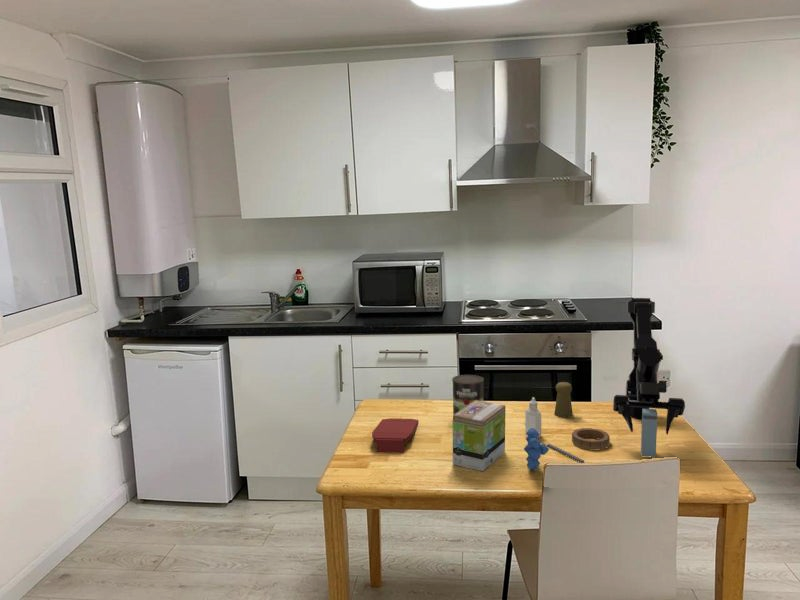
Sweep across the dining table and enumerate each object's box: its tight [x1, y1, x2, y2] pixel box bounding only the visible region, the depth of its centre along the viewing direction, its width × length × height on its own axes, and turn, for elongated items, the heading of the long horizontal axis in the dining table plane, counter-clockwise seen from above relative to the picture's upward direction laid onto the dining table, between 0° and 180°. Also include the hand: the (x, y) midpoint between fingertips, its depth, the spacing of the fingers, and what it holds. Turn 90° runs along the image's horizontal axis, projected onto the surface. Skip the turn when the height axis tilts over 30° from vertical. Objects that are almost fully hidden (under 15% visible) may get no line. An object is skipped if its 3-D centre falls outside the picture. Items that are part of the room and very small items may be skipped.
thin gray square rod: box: [546, 443, 585, 463], centre depth 178 cm, size 1×14×1 cm, turn 28°
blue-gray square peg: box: [640, 408, 658, 458], centre depth 175 cm, size 4×4×13 cm
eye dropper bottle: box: [524, 396, 542, 438], centre depth 192 cm, size 4×6×12 cm
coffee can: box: [451, 374, 485, 416], centre depth 207 cm, size 10×10×14 cm
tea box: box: [452, 400, 506, 472], centre depth 176 cm, size 15×10×15 cm, turn 148°
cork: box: [554, 381, 574, 419], centre depth 208 cm, size 6×6×11 cm
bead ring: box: [571, 427, 611, 450], centre depth 185 cm, size 10×10×2 cm
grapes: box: [523, 428, 550, 471], centre depth 168 cm, size 12×7×12 cm, turn 172°
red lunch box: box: [371, 417, 419, 454], centre depth 196 cm, size 12×5×25 cm
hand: (649, 432), depth 173 cm, fingers open, 9 cm apart
